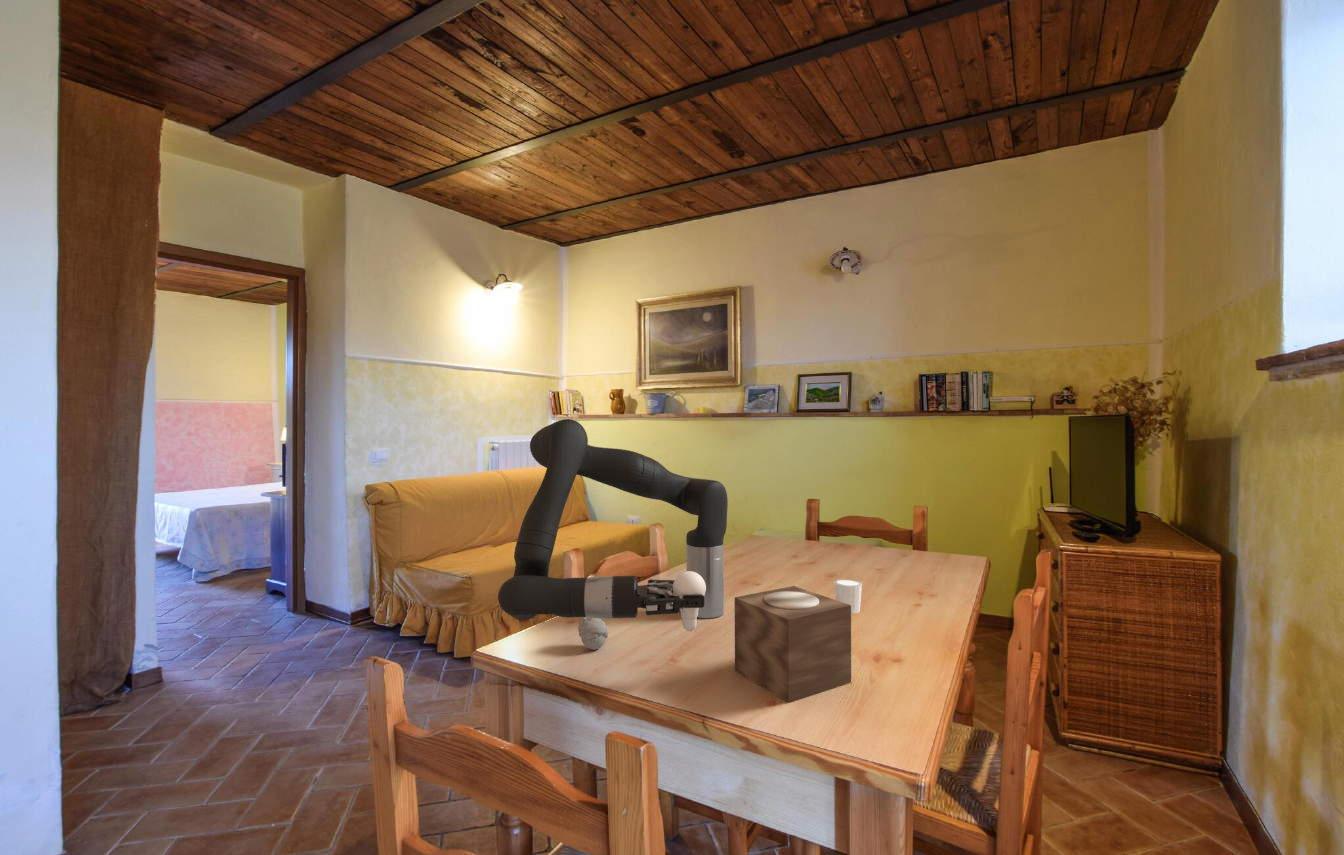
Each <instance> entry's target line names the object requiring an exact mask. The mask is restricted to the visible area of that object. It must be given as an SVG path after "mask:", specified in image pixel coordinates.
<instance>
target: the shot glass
mask: <svg viewBox="0 0 1344 855" xmlns="http://www.w3.org/2000/svg"><path fill="white" fill-rule="evenodd" d="M833 585H834V594H835V595H834V596H835V597H834V599H835V600H837V601H840V602H843V603H846V604H849V605H851V615H853V614H854V615H855V614H859V613H860V612H861V602H862V601H861V600H862V593H863V583H862V582H861V581H859V580H855V579H836V580H834V581H833Z"/></svg>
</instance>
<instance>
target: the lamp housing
mask: <svg viewBox="0 0 1344 855" xmlns="http://www.w3.org/2000/svg"><path fill="white" fill-rule="evenodd" d="M734 672H736V673H738V674H739V675H741V676H743V677H745V678H747V679H748V680H750V681H751V682H754V683H755V684H756V685H758V686H760V687H761V688H763V689H765V690H766V691H768V692H770V693H772V694H773V695H775V696H776V697H778V698H780V699H781V700H783V701H784V702H787V703H788V704H789V703H792V702H795V701H799V700H802V699H804V698H808V697H811V696H814V695H817V694H820V693H824V692H826V691H828V690H832V689H835V688H837V687H842V686H845V685H847V684H850V683H851V684H852V614H851V605H849V604H846V603H843V602H840V601H837V600H836V599H835V598H830V597H829V596H828V597H827V596H824V595H821V594H820V593H816V592H812V591H810V590H807V589H805V588H804V589H803V588H801V587H798V586H795V585H793V586H787V587H782V588H776V589H770V590H766V591H765V590H764V591H761V592H755V593H750V594H749V593H748V594H745V595H739V596H735V597H734Z"/></svg>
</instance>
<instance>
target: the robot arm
mask: <svg viewBox="0 0 1344 855" xmlns="http://www.w3.org/2000/svg"><path fill="white" fill-rule="evenodd" d="M588 439H589V438H588V433H587V432H586V430H585V428H584V426H583V425H582V424H581V423H580V422H578V421H576V420H574V419H571V418H566V419H565V418H563V419H560V420H558V421H555V422H553V423H551V424H549V425H546V426H544V427H542V428H541V429H539V430H538V431H537V432H535V433H534V435H533V436H532V437H531V440H530V442H529V449H530V450H529V452H530V453H531V456H532V457H533V459H534V460H535V461H536V463H537V464H539V465H541V467H543V468H546V470H545V473H544V477H543V479H542V481H541V484H540V486H539V488H538V490H537V492H536V493H535V495H534V498H533V499H532V501H531V503H530V505H529V506H528V508H527V510H526V512H525V514H524V518H523V519H522V522H521V525H520V529H519V533H518V536H517V539H516V544H515V548H514V553H513V558H514V559H513V560H514V563H515V567H514V568H515V569H514V573H513V577H510V578H508V579H507V580H505V581H504V582H503V583H502V585H501V586H500V588H499V590H498V594H497V601H498V603H499V606H500V608H501V610H502V611H504V612H505V613H506V614H507V615H509V616H511V617H512V618H513V619H516V620H517V621H530V620H532V619H534V618H535V617H536V616H537V615H554V616H557V617H561V618H582V617H591V618H600V619H635V618H637V616H638V611H639V609H644V610H645V615H646V616H658V615H671V614H672V615H673V614H674V615H675V614H681V610H682V609H683V607H684V608H699V610H698V619H714V618H718V617H721V616H722V615H724V609H725V608H724V607H725V606H724V605H725V604H724V599H725V598H724V597H725V596H724V593H725V591H724V590H725V589H724V586H725V585H724V581H725V580H724V579H725V578H724V570H725V568H724V538H725V535H726V532H727V525H728V524H727V523H728V522H727V521H728V502H729V501H728V500H729V499H728V492H727V490H726V488H725V486H724V484H723V483H722V482H721V481H718V480H714V479H705V478H697V477H693V478H692V477H688V476H684V475H681V474H677V473H674V472H671V471H670V470H668V469H667V468H666V467H665V466H664V465H663V464H662V463H661V462H659V461H657V460H655V459H654V458H652V457H650V456H647V455H644V454H642V453H638V452H636V451H632V450H628V449H623V448H612V447H601V446H600V447H599V446H594V445H590V444H589V443H588V442H589V440H588ZM577 476H580V477H585V478H587V479H590V480H592V481H595V482H597V483H601V484H603V485H607V486H609V487H612V488H615V489H618V490H620V491H623V492H626V493H628V494H632V495H634V496H638V497H643V498H647V499H651V500H657V501H658V500H659V501H661V502H664V503H668V504H670V505H672V506H674V507H675V508H678V509H680V510H681V511H684V512H685V513H688V514H690V515H694V516H697V524H696V527H695V528H694V529H691V530H689V531H688V532H687V533H686V535H685V536H686V541H685V542H686V544H685V546H686V553H685V555H686V571H693V572H696V573H698V574H699V575H700V576H701V577H702V578H703V580H704V582H705V585H706V592H705V595H702V594H695V595H681V594H674V593H673V583H674V580H675V579H673V580H672V579H647V584H644V585H643V584H641V585H638V583H639V582H638V581H639V580H638V577H637V575H598V576H592V577H565V578H560V577H559V578H558V577H551V576H549V574H550V573H549V570H550V564H551V559H552V556H553V552H554V548H555V543H556V539H557V537H558V536H557V534H558V531H559V528H560V527H559V526H560V524H561V520H562V516H563V513H564V510H565V507H566V504H567V501H568V498H569V496H570V493H571V491H572V487H573V485H574V482H575V480H576V477H577Z"/></svg>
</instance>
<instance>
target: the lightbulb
mask: <svg viewBox="0 0 1344 855" xmlns="http://www.w3.org/2000/svg"><path fill="white" fill-rule="evenodd" d="M673 580H674V583H673V593H674V594H681V595H695V594H702V595H705V592H706V585H705V582H704V580H703V578H702V577H701V576H700V575H699V574H698V573H696V572H693V571H687V570H685V571H683V572H681V573H680V574H678V575H677V576H676V577H675V579H673ZM698 610H699V608H684V607H683V609H682V610H680V616H681V622H682V628H683V629H685V630H686V631H687V632H692V631H693V630H695V629H696V628H697V622H698V621H697V620H698V619H697V617H698Z"/></svg>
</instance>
